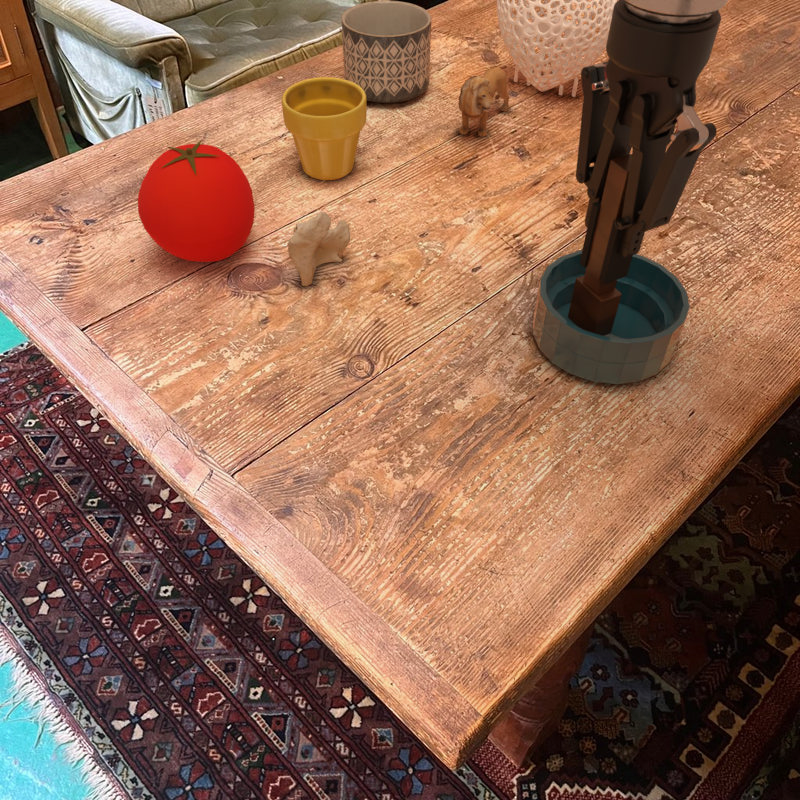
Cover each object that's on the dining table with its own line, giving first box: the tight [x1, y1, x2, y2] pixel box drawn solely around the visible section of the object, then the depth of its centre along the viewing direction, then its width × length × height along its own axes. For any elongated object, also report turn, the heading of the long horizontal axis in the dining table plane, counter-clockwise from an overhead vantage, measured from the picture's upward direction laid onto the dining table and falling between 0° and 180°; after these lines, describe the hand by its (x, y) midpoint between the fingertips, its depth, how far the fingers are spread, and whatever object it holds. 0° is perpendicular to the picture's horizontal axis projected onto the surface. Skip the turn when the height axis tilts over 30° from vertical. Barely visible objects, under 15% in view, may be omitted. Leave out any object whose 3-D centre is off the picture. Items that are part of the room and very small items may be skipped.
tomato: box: [137, 139, 256, 263], centre depth 84 cm, size 12×12×13 cm
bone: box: [287, 211, 351, 287], centre depth 84 cm, size 9×6×10 cm
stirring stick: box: [568, 153, 632, 336], centre depth 71 cm, size 4×2×18 cm, turn 28°
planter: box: [341, 0, 432, 104], centre depth 112 cm, size 13×13×10 cm
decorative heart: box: [496, 0, 618, 98], centre depth 110 cm, size 18×11×17 cm, turn 53°
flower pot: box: [281, 76, 368, 181], centre depth 97 cm, size 10×10×10 cm
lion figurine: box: [458, 66, 510, 138], centre depth 106 cm, size 15×5×9 cm, turn 161°
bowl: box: [532, 249, 691, 385], centre depth 77 cm, size 14×14×6 cm
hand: (603, 269), depth 72 cm, fingers closed on stirring stick, 2 cm apart
